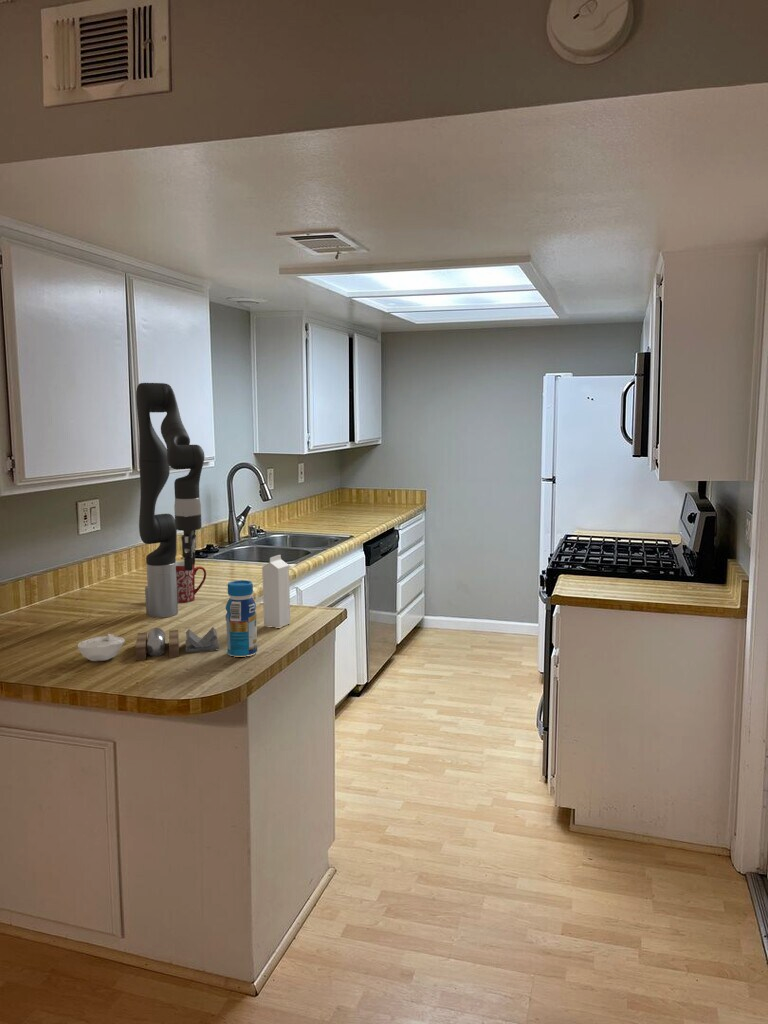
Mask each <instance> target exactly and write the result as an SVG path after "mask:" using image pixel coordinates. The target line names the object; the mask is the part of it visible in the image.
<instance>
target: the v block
mask: <svg viewBox="0 0 768 1024" xmlns="http://www.w3.org/2000/svg"><path fill="white" fill-rule="evenodd" d="M185 634H186V636H185V638H186V639H185V640H184V641H185V653H186V654H189V653H190V652H192V653H199V652H198V651H203V652H208V651H207V650H214V651H217V650H216V649H219V650H220V644H219V639H218V633H217V630H216V628H215V627H211V628H210V630H209V631H207V633H205V635H204V636H203V637H202V638H201V637H199V635H197V634H196V633H195V632H194V631H192V630H191V629H188V630H187V631H186V632H185ZM190 654H191V653H190Z"/></svg>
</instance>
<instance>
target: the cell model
mask: <svg viewBox="0 0 768 1024" xmlns="http://www.w3.org/2000/svg"><path fill="white" fill-rule="evenodd" d="M125 641H126V639H124V638H123V637H121V636H116V635H113V634H112V633H107V635H102V636H94V637H92V638H88V639H86V640H83V641H79V643H78V644H77V648H78V650H79V652H80V654H81V655H82V657H84V658H86V660H87V659H88V660H89V661H91V662H104V661H108V660H110V659H113V658H114V657H116V656H118V654H119V652H120V651H121V649H122V647H123V645H124V643H125Z"/></svg>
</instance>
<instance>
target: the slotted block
mask: <svg viewBox="0 0 768 1024" xmlns="http://www.w3.org/2000/svg"><path fill="white" fill-rule="evenodd" d="M179 637H180V636H179V629H173V630H169V632H168V654H169V656H168V657H169V658H175V657H176V658H177V657H180V642H179V641H180V639H179ZM147 639H148V632H138V633H137V637H136V641H135V642H136V643H135V648H134V649H135V661H142V660H146V659H147V654H148V653H147V651H146V646H147Z"/></svg>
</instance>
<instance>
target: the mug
mask: <svg viewBox="0 0 768 1024" xmlns="http://www.w3.org/2000/svg"><path fill="white" fill-rule="evenodd" d="M195 564H196V563H195ZM195 564H193V565H192V566H193V569H192V570H191V571H185V567H184V560H178V561H177V560H176V581H177V603H180V604H183V603H190V602H193V601H194V600H196V599H195V596H196V594H197V593H198V591H200V589H201V588H202V586H203V585H204V583H205V581H206V578H207V571H206V568H205V567H204V566H196V567H195ZM198 570H202V571H203V578H202V580H201V582H200V583H199V585H198V586H197V587H196V588H195V576H196V574H197V571H198Z"/></svg>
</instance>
